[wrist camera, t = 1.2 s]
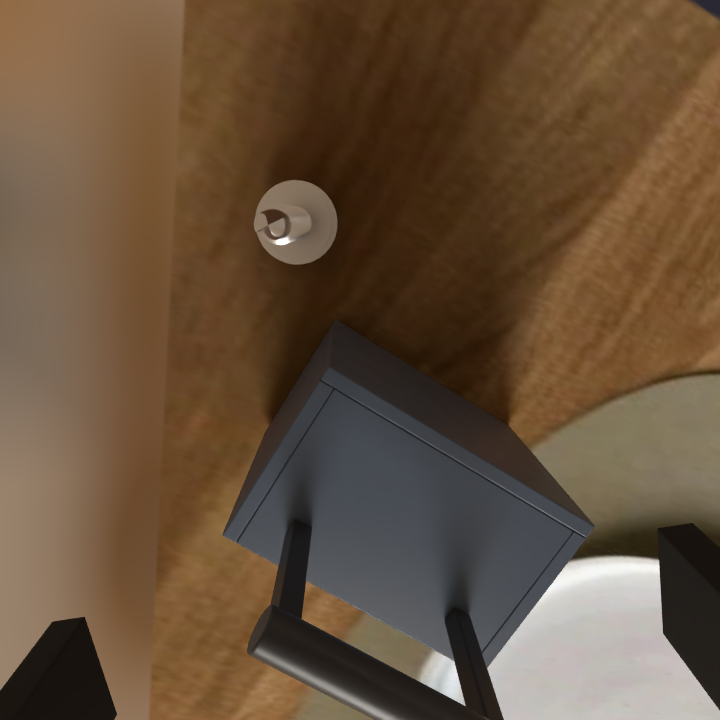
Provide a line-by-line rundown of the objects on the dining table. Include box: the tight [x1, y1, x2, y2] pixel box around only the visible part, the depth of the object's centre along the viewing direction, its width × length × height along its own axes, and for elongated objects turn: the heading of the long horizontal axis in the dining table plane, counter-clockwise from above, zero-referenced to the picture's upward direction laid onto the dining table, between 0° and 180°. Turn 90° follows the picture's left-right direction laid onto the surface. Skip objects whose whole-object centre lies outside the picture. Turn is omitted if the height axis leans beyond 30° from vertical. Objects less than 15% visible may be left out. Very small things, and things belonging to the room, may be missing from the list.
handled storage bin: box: [223, 320, 595, 720], centre depth 28 cm, size 22×14×9 cm
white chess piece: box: [254, 180, 337, 265], centre depth 29 cm, size 13×5×5 cm
